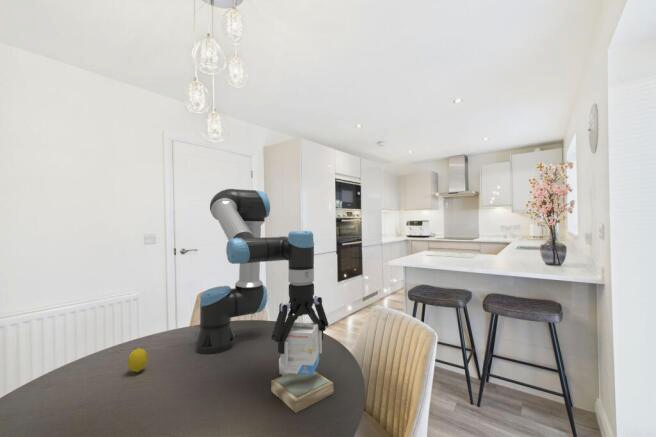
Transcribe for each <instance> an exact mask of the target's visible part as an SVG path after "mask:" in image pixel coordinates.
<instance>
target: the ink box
mask: <svg viewBox="0 0 656 437" xmlns="http://www.w3.org/2000/svg"><path fill="white" fill-rule="evenodd" d="M285 341H287V342H288V366H286V367H285V366H284V373H293V374H306V375H313V374H314V372H316V369H317V368H318V365H319V362H320V353H319V334H318V324H316V323H313V322H303V321H301V322H298V321H295V322H294V324H293V326H292V328H291V330H290V332H289V334H288V336H287V338H286V340H285Z"/></svg>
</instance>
